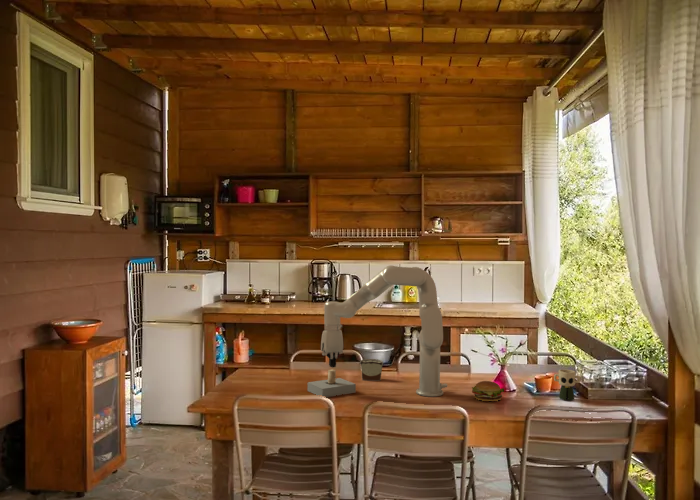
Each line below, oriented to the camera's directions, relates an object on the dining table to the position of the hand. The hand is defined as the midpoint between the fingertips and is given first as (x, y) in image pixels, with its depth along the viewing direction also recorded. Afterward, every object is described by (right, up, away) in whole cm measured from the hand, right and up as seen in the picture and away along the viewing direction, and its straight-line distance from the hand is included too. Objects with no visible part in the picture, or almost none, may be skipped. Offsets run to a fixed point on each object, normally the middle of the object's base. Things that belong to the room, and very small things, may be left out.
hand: (332, 366), depth 258 cm
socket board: (-1, -12, 0) cm, 12 cm away
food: (+70, -13, -10) cm, 72 cm away
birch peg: (-1, -12, 0) cm, 12 cm away
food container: (+19, -12, +26) cm, 35 cm away
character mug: (+107, -13, -9) cm, 108 cm away
